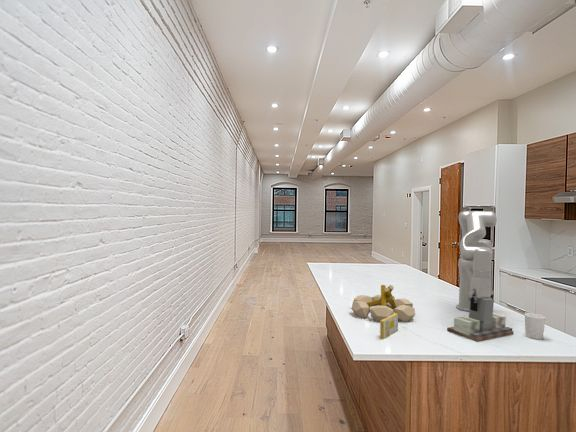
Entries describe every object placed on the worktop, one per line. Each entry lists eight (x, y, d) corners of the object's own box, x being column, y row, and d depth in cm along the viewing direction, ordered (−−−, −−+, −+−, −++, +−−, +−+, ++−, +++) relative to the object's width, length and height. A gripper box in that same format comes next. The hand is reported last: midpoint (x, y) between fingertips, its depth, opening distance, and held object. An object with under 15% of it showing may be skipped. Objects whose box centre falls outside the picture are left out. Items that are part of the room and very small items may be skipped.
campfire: (419, 326, 180) (420, 293, 180) (350, 321, 187) (351, 288, 187) (409, 308, 215) (410, 280, 214) (352, 304, 221) (353, 277, 221)
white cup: (535, 340, 163) (536, 318, 163) (520, 334, 171) (520, 313, 171) (548, 339, 165) (549, 317, 165) (532, 333, 173) (533, 312, 173)
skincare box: (467, 327, 175) (468, 295, 175) (477, 325, 178) (478, 294, 178) (483, 332, 167) (484, 299, 167) (493, 331, 170) (494, 298, 170)
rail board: (482, 324, 185) (482, 310, 185) (513, 334, 171) (513, 318, 171) (447, 330, 174) (447, 315, 174) (477, 341, 159) (477, 325, 159)
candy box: (394, 329, 174) (394, 312, 174) (398, 330, 173) (398, 313, 172) (379, 338, 161) (380, 320, 161) (384, 339, 160) (384, 321, 160)
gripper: (486, 272, 179) (485, 305, 179) (462, 274, 172) (461, 309, 172) (500, 274, 172) (499, 309, 173) (476, 276, 165) (475, 313, 165)
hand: (480, 309), depth 172 cm, fingers open, 9 cm apart
